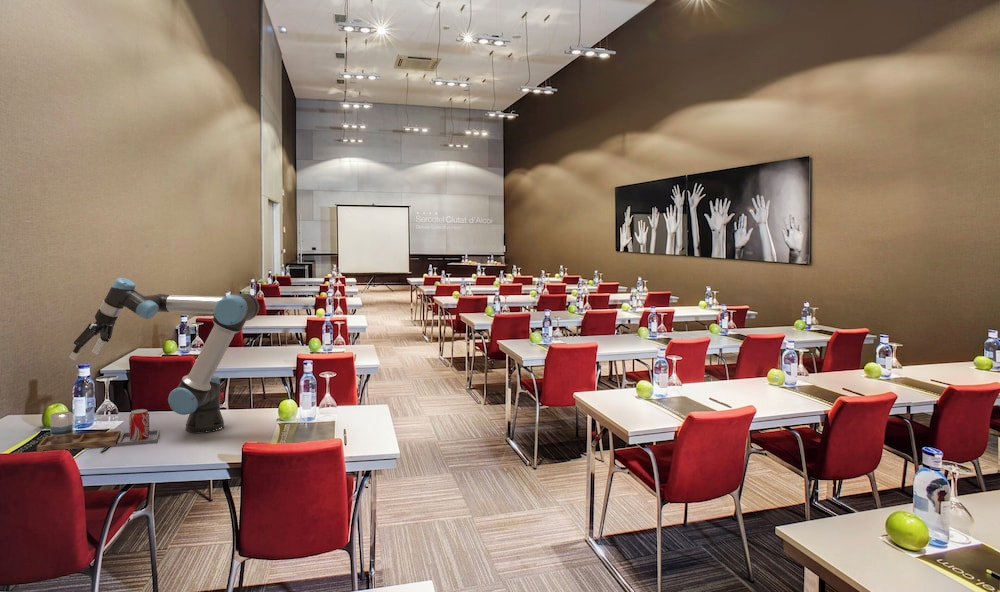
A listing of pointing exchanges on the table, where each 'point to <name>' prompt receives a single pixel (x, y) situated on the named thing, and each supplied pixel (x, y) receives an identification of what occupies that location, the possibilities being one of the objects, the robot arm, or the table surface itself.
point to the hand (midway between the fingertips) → (83, 356)
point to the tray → (138, 440)
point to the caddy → (83, 441)
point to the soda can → (139, 425)
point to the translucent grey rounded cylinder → (61, 428)
